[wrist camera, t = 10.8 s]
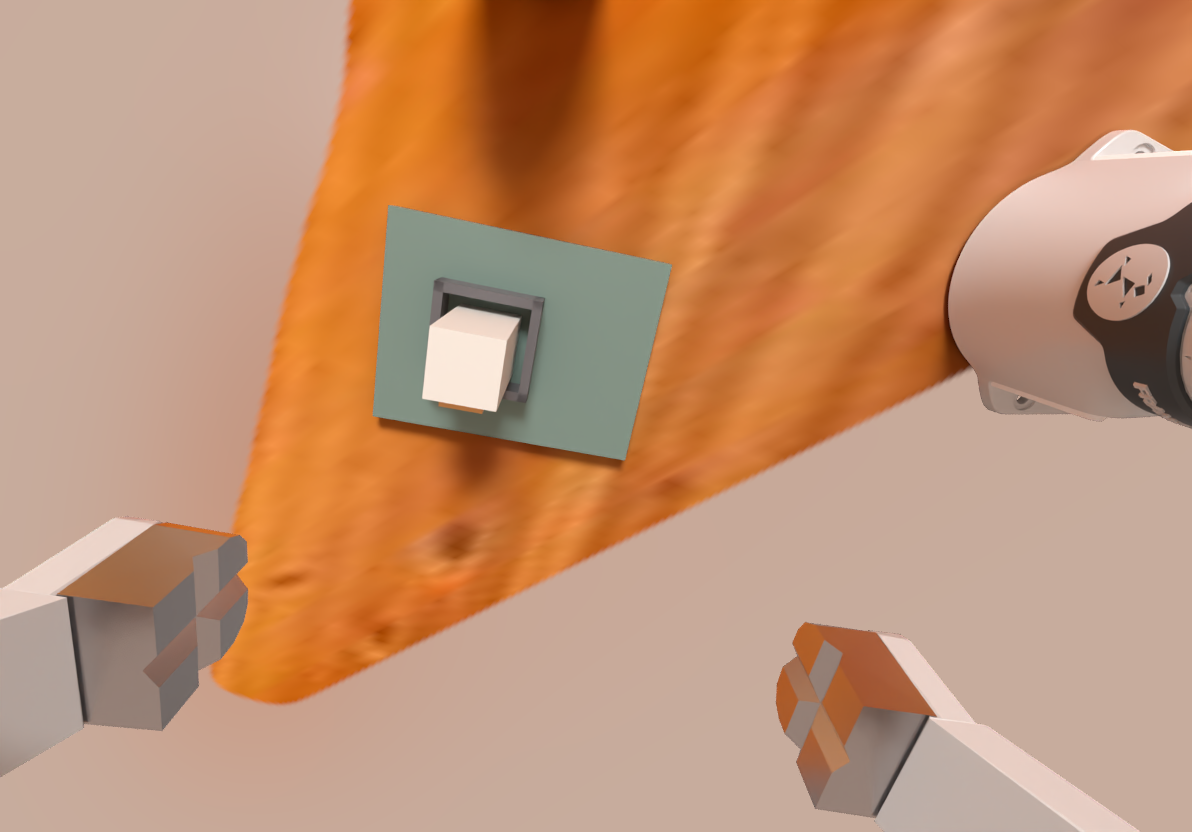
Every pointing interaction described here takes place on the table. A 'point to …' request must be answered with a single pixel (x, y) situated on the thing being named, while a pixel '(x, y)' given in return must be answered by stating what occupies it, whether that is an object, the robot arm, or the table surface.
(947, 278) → the table surface
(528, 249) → the board
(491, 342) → the plug
